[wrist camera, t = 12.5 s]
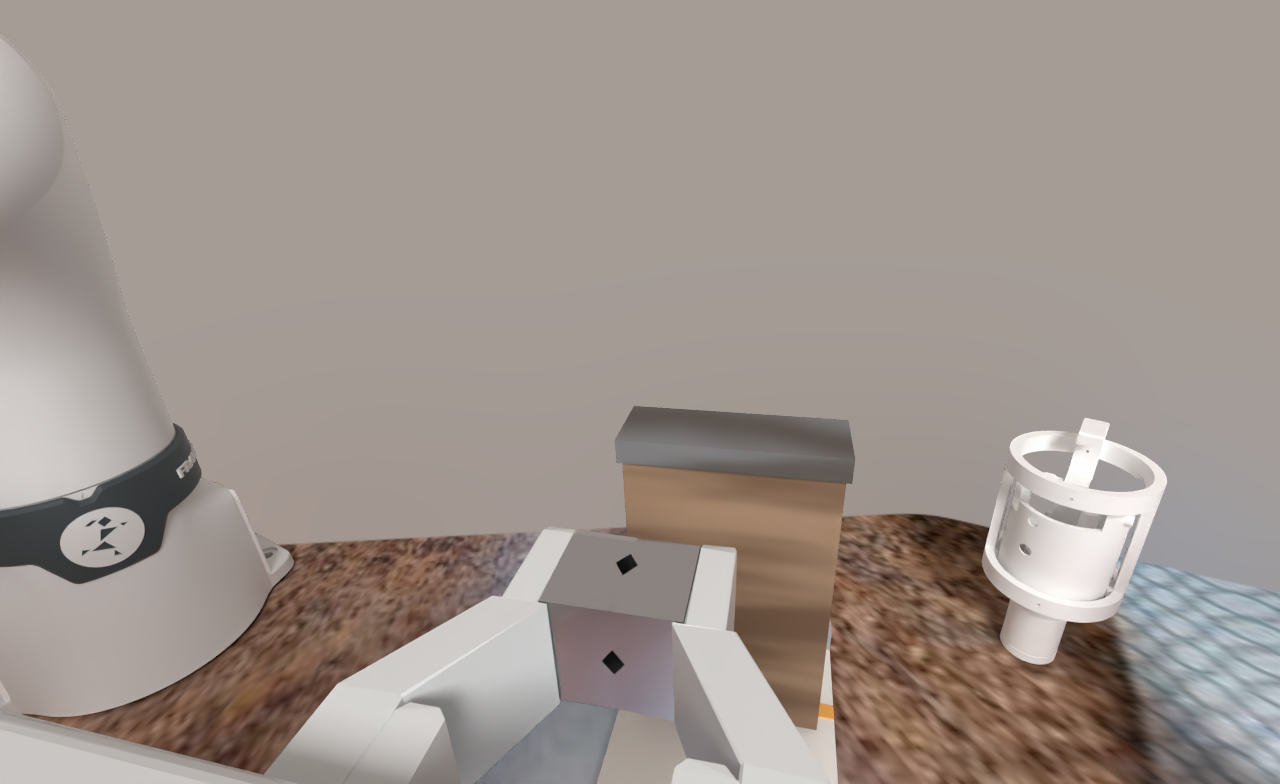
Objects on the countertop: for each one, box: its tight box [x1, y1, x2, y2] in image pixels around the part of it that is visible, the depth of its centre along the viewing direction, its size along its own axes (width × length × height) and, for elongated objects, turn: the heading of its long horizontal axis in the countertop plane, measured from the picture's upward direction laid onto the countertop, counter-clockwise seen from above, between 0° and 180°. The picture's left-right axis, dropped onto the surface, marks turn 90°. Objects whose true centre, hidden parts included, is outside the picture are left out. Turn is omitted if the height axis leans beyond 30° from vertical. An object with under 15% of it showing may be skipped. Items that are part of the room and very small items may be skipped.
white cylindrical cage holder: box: [982, 418, 1167, 664], centre depth 35 cm, size 7×7×15 cm
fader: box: [615, 406, 855, 730], centre depth 31 cm, size 4×10×17 cm, turn 76°
